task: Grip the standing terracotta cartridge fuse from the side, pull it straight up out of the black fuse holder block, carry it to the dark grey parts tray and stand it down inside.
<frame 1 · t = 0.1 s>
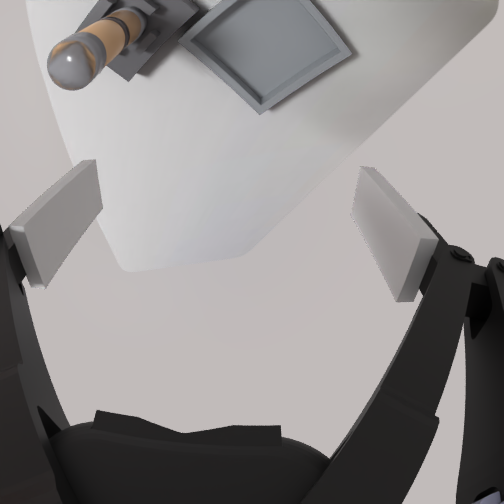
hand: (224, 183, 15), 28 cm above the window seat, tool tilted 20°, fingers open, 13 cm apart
parts tray: (265, 36, 32), on the window seat
fuse: (127, 23, 27), point 3 cm above the window seat, touching fuse holder
fuse holder: (136, 18, 29), on the window seat
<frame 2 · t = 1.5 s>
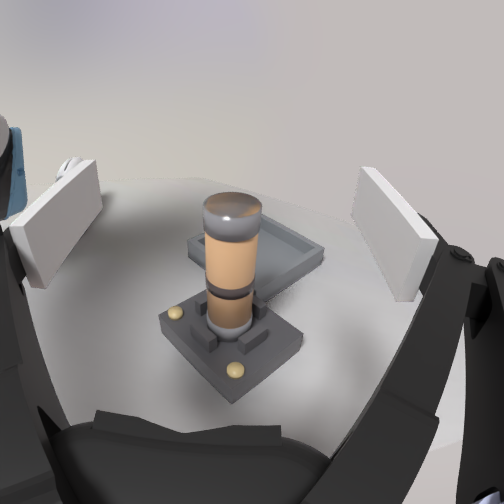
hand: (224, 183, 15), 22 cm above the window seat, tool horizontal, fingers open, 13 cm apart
parts tray: (255, 260, 48), on the window seat
fuse: (229, 325, 33), point 3 cm above the window seat, touching fuse holder
grey rounded slab: (81, 223, 54), on the window seat
fuse holder: (228, 343, 35), on the window seat
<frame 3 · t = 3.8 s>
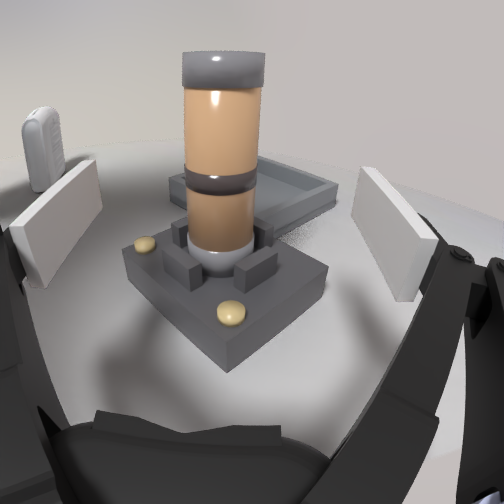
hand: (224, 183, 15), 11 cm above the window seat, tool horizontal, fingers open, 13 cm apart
parts tray: (253, 202, 38), on the window seat
fuse: (220, 257, 23), point 3 cm above the window seat, touching fuse holder
grey rounded slab: (50, 181, 44), on the window seat
fuse holder: (221, 289, 25), on the window seat
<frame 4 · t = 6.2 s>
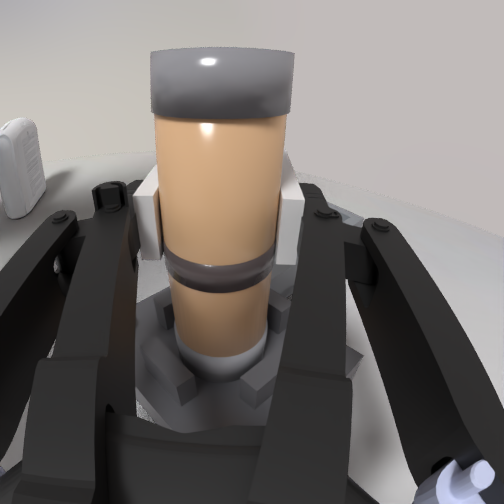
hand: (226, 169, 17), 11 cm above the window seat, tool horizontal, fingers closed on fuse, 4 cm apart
parts tray: (260, 240, 31), on the window seat
fuse: (221, 347, 17), point 3 cm above the window seat, touching fuse holder, gripper
grey rounded slab: (28, 204, 37), on the window seat
fuse holder: (222, 377, 18), on the window seat
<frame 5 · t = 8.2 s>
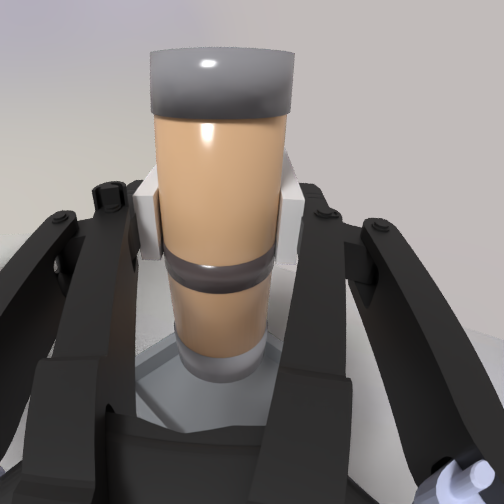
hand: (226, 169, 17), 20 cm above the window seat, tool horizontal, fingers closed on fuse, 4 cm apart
parts tray: (222, 399, 26), on the window seat
fuse: (221, 347, 17), point 12 cm above the window seat, touching gripper
when the fingers open (10 cm above the window seat, at t = 10.6 s): fuse drops 1 cm, resting on parts tray.
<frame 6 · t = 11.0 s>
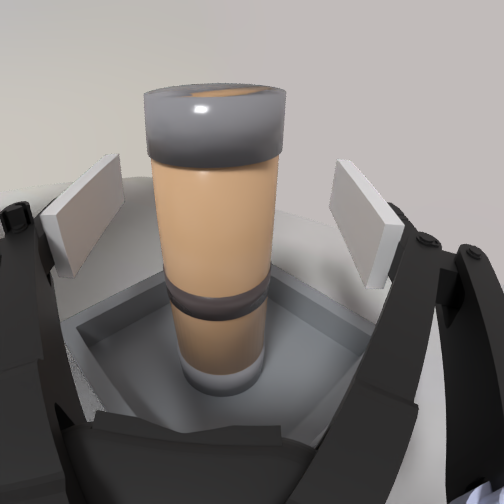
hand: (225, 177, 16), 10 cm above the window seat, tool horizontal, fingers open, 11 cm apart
parts tray: (222, 371, 18), on the window seat
fuse: (222, 362, 17), point 1 cm above the window seat, touching parts tray
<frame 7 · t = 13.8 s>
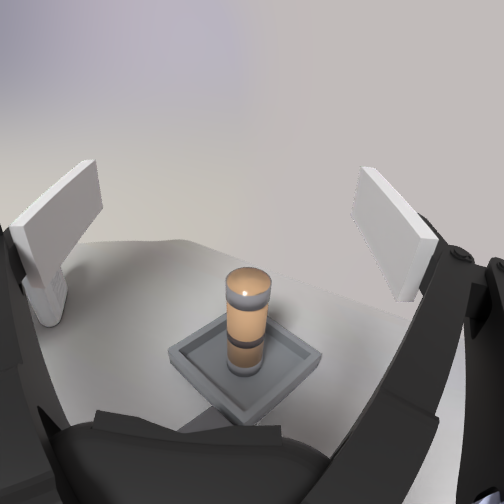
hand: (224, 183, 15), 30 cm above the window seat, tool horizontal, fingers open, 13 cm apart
parts tray: (244, 366, 41), on the window seat
fuse: (244, 362, 40), point 1 cm above the window seat, touching parts tray
grey rounded slab: (55, 307, 47), on the window seat
fuse holder: (216, 476, 28), on the window seat
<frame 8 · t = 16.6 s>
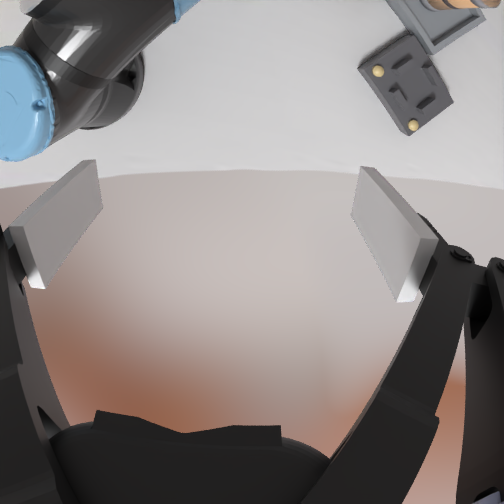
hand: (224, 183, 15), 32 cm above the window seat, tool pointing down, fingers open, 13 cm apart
fuse holder: (404, 83, 39), on the window seat
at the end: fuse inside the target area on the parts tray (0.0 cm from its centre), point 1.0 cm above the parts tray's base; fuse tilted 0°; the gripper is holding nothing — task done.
